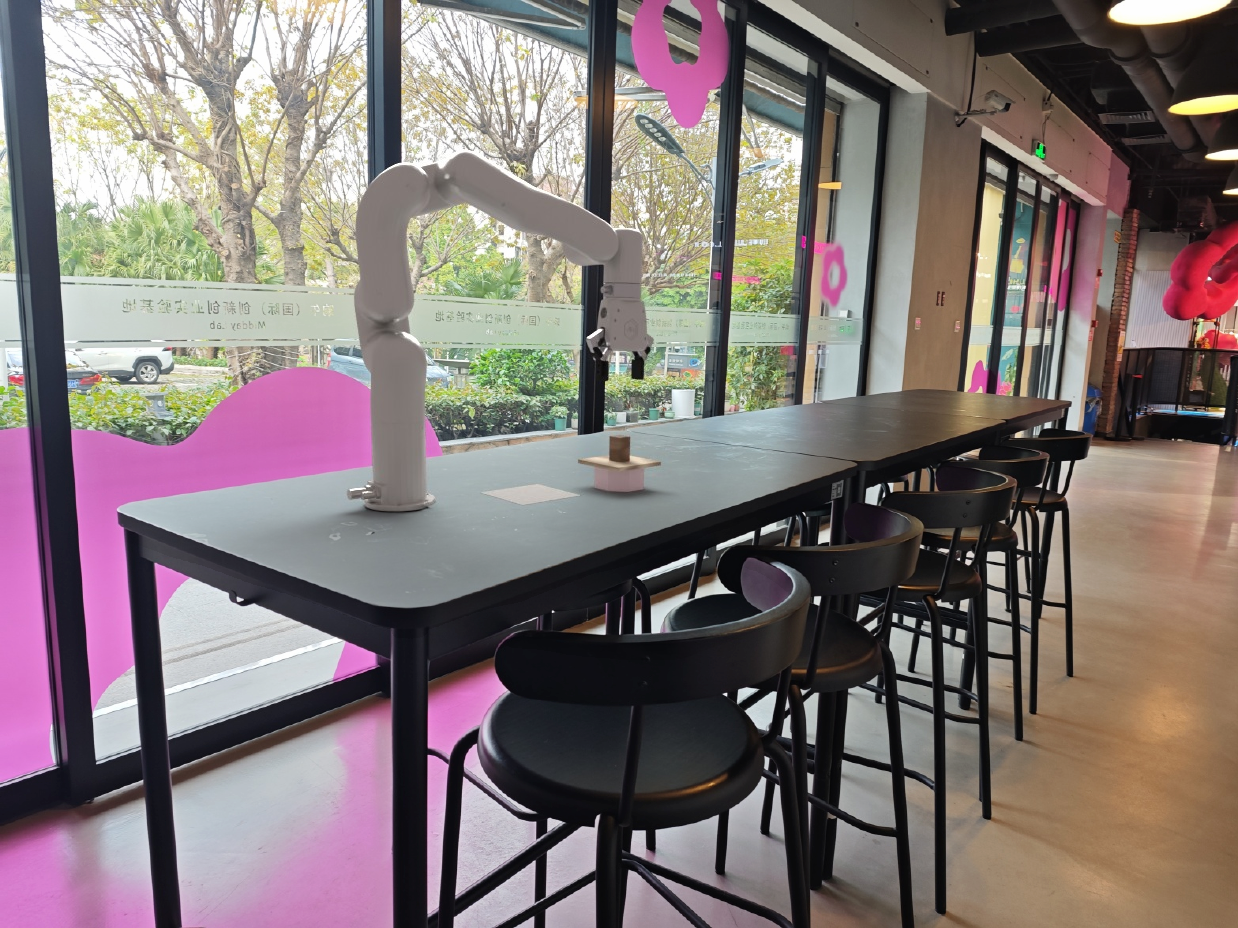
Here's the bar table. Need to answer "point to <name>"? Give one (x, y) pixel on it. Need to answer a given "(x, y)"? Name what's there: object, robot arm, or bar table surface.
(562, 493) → the mat
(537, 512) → the bar table surface
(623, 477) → the bowl
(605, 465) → the lid
